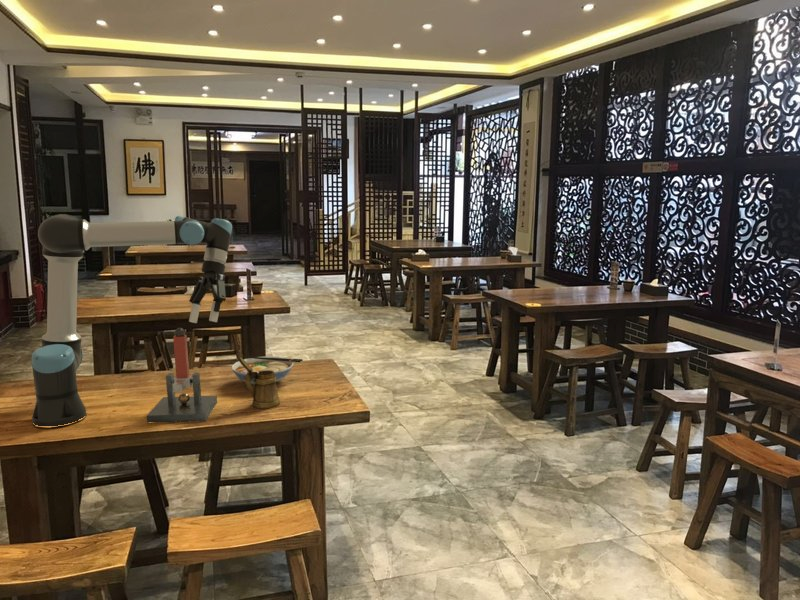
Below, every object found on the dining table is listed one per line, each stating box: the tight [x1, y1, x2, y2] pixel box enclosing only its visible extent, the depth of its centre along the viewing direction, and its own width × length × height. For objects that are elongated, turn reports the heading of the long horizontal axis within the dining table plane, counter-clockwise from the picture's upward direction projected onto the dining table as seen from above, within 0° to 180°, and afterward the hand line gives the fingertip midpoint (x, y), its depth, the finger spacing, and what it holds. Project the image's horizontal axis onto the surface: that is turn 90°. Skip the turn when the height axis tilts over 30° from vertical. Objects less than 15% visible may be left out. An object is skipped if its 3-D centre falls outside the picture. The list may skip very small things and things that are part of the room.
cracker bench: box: [146, 371, 218, 423], centre depth 201 cm, size 18×17×12 cm
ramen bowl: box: [231, 355, 303, 386], centre depth 231 cm, size 25×23×8 cm
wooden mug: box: [236, 355, 281, 410], centre depth 207 cm, size 9×14×18 cm, turn 105°
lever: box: [172, 327, 193, 393], centre depth 198 cm, size 6×8×20 cm
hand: (202, 322), depth 211 cm, fingers open, 13 cm apart
